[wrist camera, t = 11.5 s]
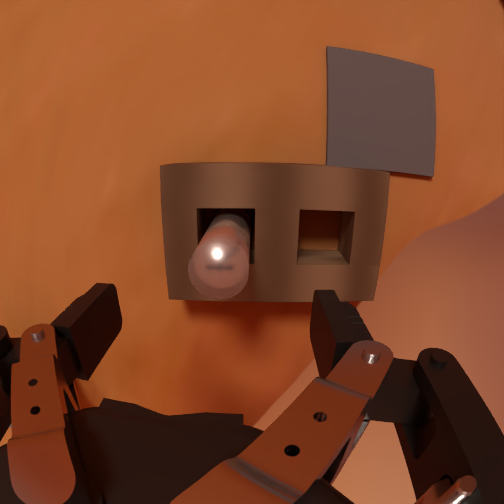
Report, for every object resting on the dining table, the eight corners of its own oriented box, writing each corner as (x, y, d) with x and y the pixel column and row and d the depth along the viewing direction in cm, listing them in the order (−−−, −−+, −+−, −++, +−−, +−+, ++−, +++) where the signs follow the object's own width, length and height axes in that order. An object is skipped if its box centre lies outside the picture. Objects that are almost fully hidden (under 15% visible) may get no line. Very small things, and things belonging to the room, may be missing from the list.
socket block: (372, 169, 23) (389, 172, 19) (360, 282, 26) (373, 300, 23) (173, 163, 23) (160, 165, 19) (179, 280, 26) (168, 299, 23)
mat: (431, 70, 20) (433, 69, 19) (431, 176, 23) (433, 176, 22) (326, 47, 20) (327, 46, 19) (325, 165, 23) (327, 165, 22)
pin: (250, 206, 24) (249, 243, 14) (250, 242, 25) (248, 300, 15) (212, 206, 24) (186, 242, 14) (213, 242, 25) (190, 298, 15)
